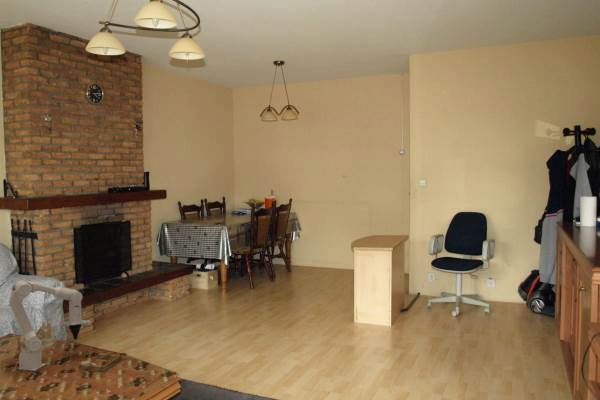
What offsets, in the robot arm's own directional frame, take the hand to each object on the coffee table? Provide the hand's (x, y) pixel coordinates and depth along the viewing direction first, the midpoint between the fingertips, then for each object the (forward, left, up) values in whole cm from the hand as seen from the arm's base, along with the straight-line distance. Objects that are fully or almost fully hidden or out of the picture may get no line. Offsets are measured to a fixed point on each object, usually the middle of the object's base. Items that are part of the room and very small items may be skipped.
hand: (75, 338), depth 247 cm
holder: (+19, -6, -10) cm, 22 cm away
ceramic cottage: (-32, +10, -10) cm, 35 cm away
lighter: (+12, -6, -9) cm, 16 cm away
